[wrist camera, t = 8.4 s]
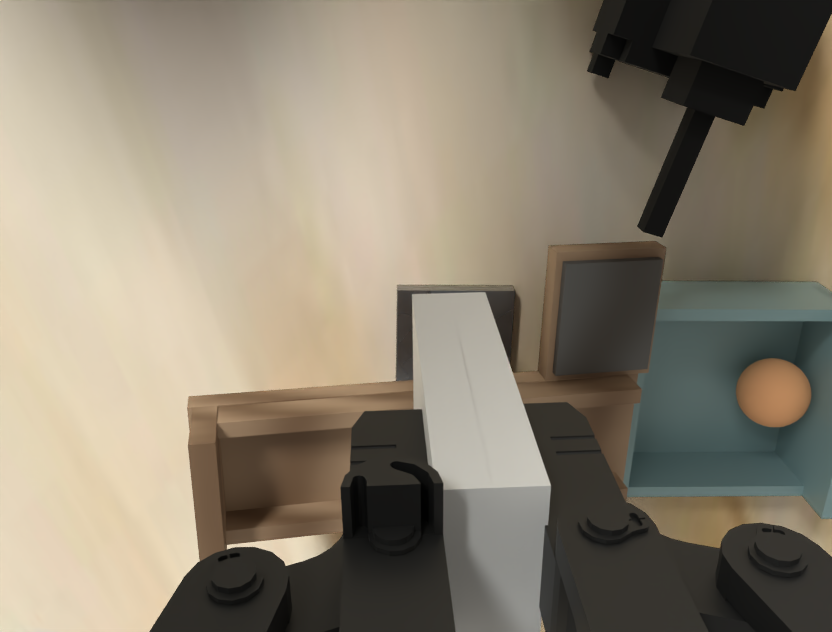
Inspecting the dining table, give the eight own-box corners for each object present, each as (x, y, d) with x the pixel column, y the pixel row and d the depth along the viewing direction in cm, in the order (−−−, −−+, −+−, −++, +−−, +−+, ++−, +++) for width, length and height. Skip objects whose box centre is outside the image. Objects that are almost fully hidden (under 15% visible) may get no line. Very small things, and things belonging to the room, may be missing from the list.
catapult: (200, 514, 36) (196, 574, 32) (175, 261, 31) (167, 296, 28) (623, 471, 40) (661, 520, 36) (655, 241, 35) (702, 269, 32)
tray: (596, 455, 46) (626, 520, 40) (617, 280, 42) (654, 325, 36) (778, 455, 46) (832, 518, 40) (816, 281, 42) (883, 326, 36)
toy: (529, 165, 39) (575, 219, 30) (643, -150, 34) (741, -202, 25) (668, 208, 40) (754, 273, 31) (798, -92, 35) (946, -121, 26)
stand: (395, 452, 45) (398, 557, 37) (396, 284, 41) (401, 359, 33) (501, 451, 45) (528, 556, 37) (512, 285, 41) (545, 359, 33)
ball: (766, 445, 40) (819, 432, 41) (780, 381, 39) (834, 370, 40) (715, 413, 43) (766, 401, 45) (727, 352, 42) (778, 343, 43)
